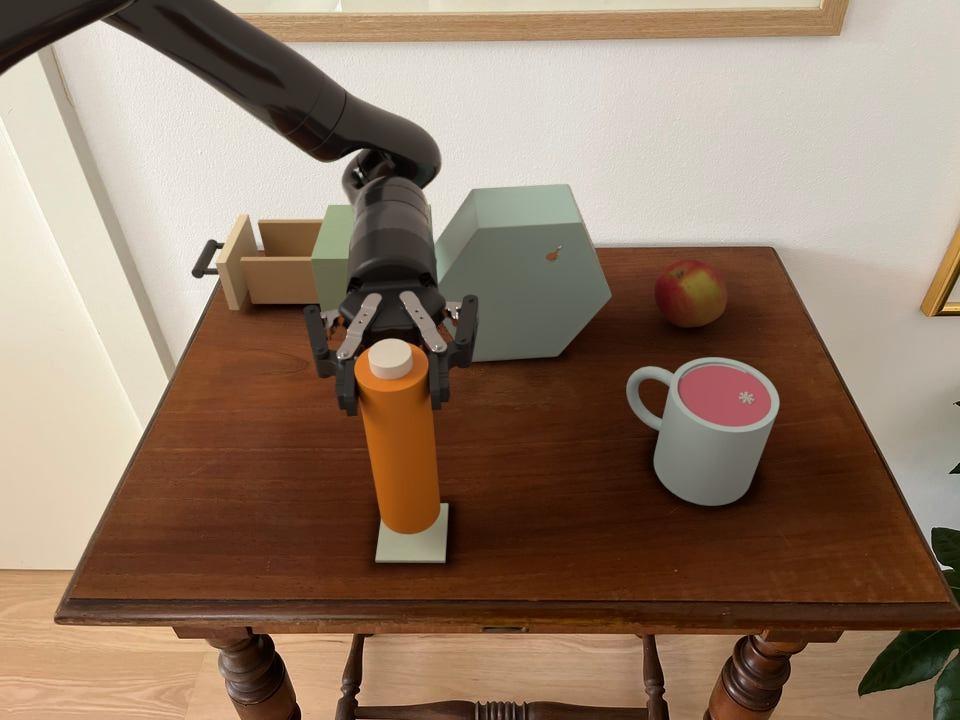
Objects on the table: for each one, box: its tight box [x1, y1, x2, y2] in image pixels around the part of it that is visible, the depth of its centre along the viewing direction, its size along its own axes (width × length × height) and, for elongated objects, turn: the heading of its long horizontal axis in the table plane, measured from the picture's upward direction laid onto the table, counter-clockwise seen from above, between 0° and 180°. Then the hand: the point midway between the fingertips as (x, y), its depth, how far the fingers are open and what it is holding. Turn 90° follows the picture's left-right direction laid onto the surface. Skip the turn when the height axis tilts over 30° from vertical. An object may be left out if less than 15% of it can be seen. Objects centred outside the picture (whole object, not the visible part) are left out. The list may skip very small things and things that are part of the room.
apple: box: [653, 259, 728, 329], centre depth 83 cm, size 8×8×8 cm
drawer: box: [190, 213, 324, 311], centre depth 89 cm, size 16×11×7 cm
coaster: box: [375, 502, 449, 564], centre depth 64 cm, size 6×6×1 cm
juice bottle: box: [354, 339, 441, 535], centre depth 56 cm, size 5×5×18 cm
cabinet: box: [311, 203, 434, 312], centre depth 88 cm, size 13×12×9 cm
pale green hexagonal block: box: [434, 183, 613, 363], centre depth 78 cm, size 17×8×21 cm
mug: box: [625, 356, 780, 507], centre depth 68 cm, size 14×9×10 cm
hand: (393, 404), depth 50 cm, fingers closed on juice bottle, 5 cm apart
